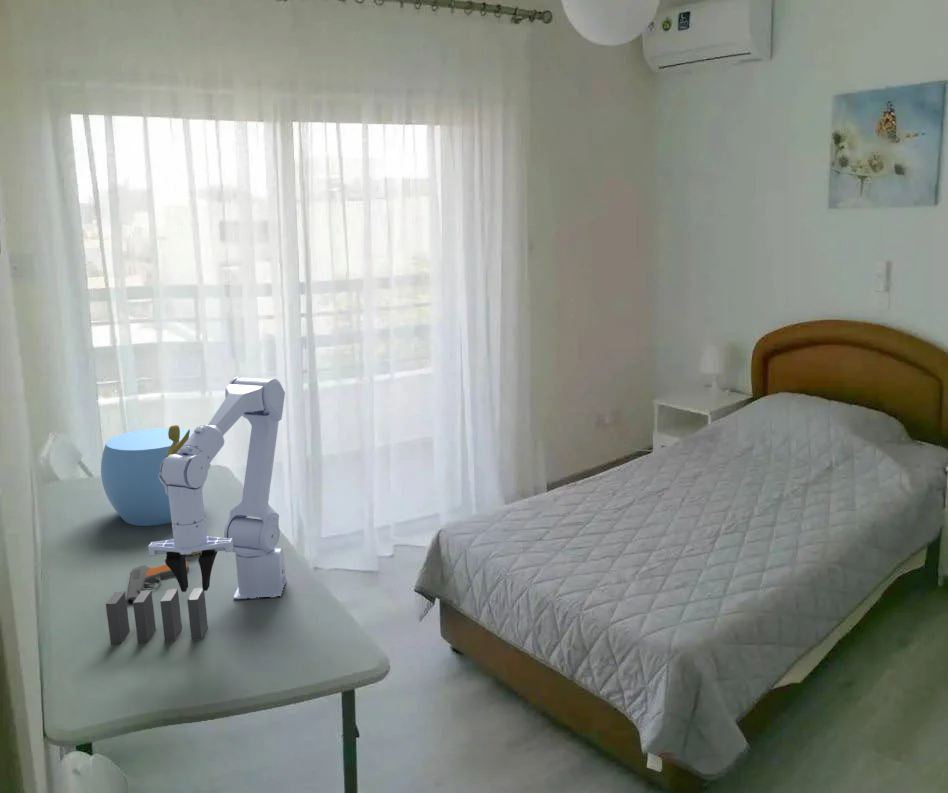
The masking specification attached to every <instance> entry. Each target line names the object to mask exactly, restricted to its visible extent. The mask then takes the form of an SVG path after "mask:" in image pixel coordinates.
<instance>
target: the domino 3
mask: <svg viewBox="0 0 948 793" xmlns="http://www.w3.org/2000/svg"><path fill="white" fill-rule="evenodd" d="M205 595H206V593H205V591H203V587H194V588H193V589H192V591H191V593H190V595H189V597H188V598H187V610H188V618H189V620H188V621H189V629H190V637H191V638H190V640H191V641H202V640H203V637H204V636H205V634H206V632H207V630H208V628H209V626H208V625H209V624H208V614H207V613H208V612H207V607H206V596H205Z"/></svg>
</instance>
